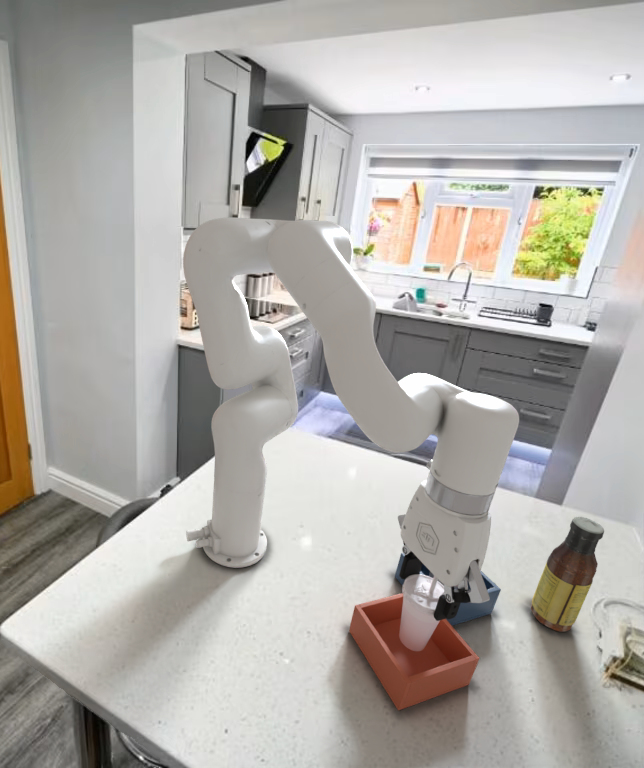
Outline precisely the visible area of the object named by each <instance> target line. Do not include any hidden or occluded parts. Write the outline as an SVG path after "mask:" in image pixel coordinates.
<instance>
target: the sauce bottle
mask: <svg viewBox="0 0 644 768" xmlns="http://www.w3.org/2000/svg"><path fill="white" fill-rule="evenodd" d="M569 527H570V529H569V530H568V533H567V535H566V537H565V539H564V541H562V542H561V543H560V544H559V545H558V546H557V547H555V548H554V549H553V550H552V551H551V553H550V554H549V556H548V558H547V560H546V562H545V564H544V568H543V571H542V573H541V575H540V578H539V580H538V583H537V586H536V588H535V591H534V594H533V596H532V599H531V605H530V610H531V613H532V615H533V616H534V617H535V619H536V620H537V621H538V622H539V623H540V624H541V625H542V626H543V625H544V626H545V627H547V628H549V629H550V630H553V631H555V632H561V633H562V632H568V631H570V630H571V629H572V627H573V625H574V624H575V623H576V621H577V619H578V616H579V614H580V612H581V609H582V607H583V605H584V602H585V600H586V598H587V595H588V594H589V592H590V589H591V587H592V584H593V582H594V577H595V575H596V574H597V573H596V572H597V569H598V565H599V564H598V561H597V557H596V548H597V546H598V543H599V541H600V540H602V539H603V537H604V534H605V529H604V527H603V526H602V525H601V524H600V523H598V522H597V521H595V520H593V519H591V518H588V517H585V516H574V517H573V518H572V520H571V522H570V525H569Z"/></svg>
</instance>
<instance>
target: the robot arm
mask: <svg viewBox="0 0 644 768" xmlns="http://www.w3.org/2000/svg"><path fill="white" fill-rule="evenodd" d="M353 254H354V247H353V242H352V239H351V237H350V235H349V233H348V232H347V231H346V230H345V229H344V228H343V227H342V226H341V225H340V224H337V223H336V222H333V221H329V220H315V219H298V220H286V219H270V218H250V217H249V218H247V217H234V216H233V217H231V216H230V217H218V218H214V219H210V220H207V221H205V222H203V223H201V224H200V225H198V226H197V227H196V228H195V229H194V230H193V231H192V233H190V236H189V237H188V239H187V241H186V244H185V247H184V251H183V257H182V267H183V275H184V279H185V283H186V286H187V289H188V291H189V294H190V297H191V300H192V303H193V306H194V309H195V312H196V316H197V322H198V328H199V331H200V336H201V341H202V346H203V352H204V355H205V359H206V364H207V370H208V372H209V376H210V378H211V380H212V382H213V383H214V385H216V387H218V388H219V389H222V390H228V391H230V390H236V389H240V388H243V387H246V386H249V385H251V388H252V389H250V390H247V391H244V392H242V393H240V394H237V395H235V396H233V397H231V398H229V399H227V400H225V401H224V402H223V403H221V404H220V405H219V406H218V407H217V409H216V410H215V411H214V413H213V415H212V417H211V422H210V423H211V424H210V426H211V434H212V440H213V449H214V472H213V492H212V509H211V519H207V520H206V525H204V526H202V527H201V528H198V529H190V530H186V533H185V535H186V541H187V542H194V541H195V547H196V549H200V548H203V551H204V553H205V555H206V556H208V558H209V559H210V560H211V561H213V562H214V563H216V564H218V565H221V566H222V567H228V568H235V569H237V568H246V567H249V566H252V565H254V564H256V563H259V561H260V560H262V558H263V557H264V556H265V554H266V552H267V546H268V539H267V536H266V534H265V532H264V531H263V530H262V521H263V511H264V504H265V494H266V484H267V474H268V465H267V461H266V458H265V456H264V453H263V449H264V446H265V445H266V443H268V442H270V441H271V440H273V439H274V438H276V437H277V436H278V435H280V434H283V433H284V432H285V431H287V430H288V429H289V428H291V427H292V426H293V425H294V423H295V422H296V420H297V418H298V414H299V401H298V395H297V389H296V384H295V383H296V382H295V378H294V371H293V366H292V361H291V356H290V351H289V348H288V346H287V342H286V341H285V339H284V338H283V336H282V335H281V333H279V331H277V330H276V329H274V328H273V327H271V326H268V325H253V326H252V321H251V319H250V313H249V307H248V302H247V301H246V298H245V296H244V294H243V293H242V291H241V289H240V288H239V287H238V285H237V284H236V283H235V281H234V278H235V277H236V276H242V275H253V274H262V273H263V274H264V273H274V275H276V277H277V278H278V280H279V281H280V282H281V284H282V286H283V287H284V288H285V289H286V291H287V292H288V293H289V296H291V298H292V299H293V300H294V302H295V303H296V304H297V306H298V307H299V308H300V310H301V311H302V313H303V314H304V315H305V317H306V318H307V319H308V321H309V322H310V324H311V326H312V327H313V328H314V329H315V331H316V333H317V334H318V335H319V337H320V339H321V341H322V347H323V356H324V360H325V361H324V362H325V365H326V368H327V372H328V377H329V379H330V382H331V386H332V388H333V390H334V392H335V394H336V396H337V398H338V399H339V401H340V402H341V404H342V406H343V407H344V409H345V410H346V411H347V413H348V414H349V415H350V417H351V418H352V420H353V421H354V423H355V424H356V425H357V426H358V428H359V429H360V430H361V431H362V433H363V434H364V435H365V436H366V437H367V438H368V439H369V440H370V442H372V443H373V444H375V445H376V446H378V447H379V448H380V449H382V450H385V451H387V452H390V453H397V454H402V453H408V452H411V451H413V450H416V449H418V448H419V447H420V446H422V445H423V444H424V442H426V441H427V440H428V438H430V437H431V435H433V436H435V437H436V438H437V441H436V446H435V448H434V449H435V450H434V453H433V457H432V459H431V460H429V461H428V462H427V463H426V468H427V470H429V472H428V474H427V478H426V479H424V480H423V481H421V483H420V484H419V485H418V487H417V489H416V490H415V492H414V494H413V496H412V498H411V500H410V501H409V504H408V507H407V510H406V512H405V514H400V515H399V514H398V516H397V520H398V524H399V528H400V537H401V540H402V543H403V546H402V547H401V550H402V553H404V554H405V556H404V560H403V563H402V567H401V570H400V574H399V576H400V577H401V579H406V578H407V577H408V576H410V575H414V574H420V571H421V567H422V564H424V565H425V566H426V567H427V568H428V569H429V570H430V571H431V573H432V574H433V575H434V576H435V577H436V578H437V579H438V580H439V581H440V582H442V583H443V584H444V594H443V595H441V596H440V597H439V600H438V603H437V606H436V609H435V612H434V618H435V619H436V620H437V621H440V620H443V619H446V618H447V619H452V618H454V617H455V616H456V615H457V612H458V609H459V606H460V604H461V603H483V602H486V601H489V600H490V597H489V594H488V591H487V589H486V586H485V583H484V580H483V578H482V575H481V572H480V571H482V568H483V565H484V561H485V558H486V554H487V550H488V545H489V540H490V535H491V527H492V514H491V513H490V512H489V511H490V508H491V505H492V503H493V500H494V497H495V494H496V490H497V489H498V486H499V482H500V479H501V476H502V473H503V471H504V468H505V465H506V462H507V460H508V457H509V454H510V451H511V448H512V445H513V442H514V440H515V436H516V434H517V432H518V428H519V424H520V415H519V412H518V410H517V409H516V408H515V407H514V406H513V404H511V403H509V402H508V401H506V400H504V399H501V398H499V397H497V396H493V395H489V394H485V393H480V392H471V391H469V390H466V389H464V388H461V387H459V386H457V385H455V384H452V383H451V382H448V381H446V380H444V379H442V378H439V377H437V376H435V375H432V374H428V373H421V372H417V373H411V374H408V375H406V376H404V377H403V378H401V379H400V380H397V379H396V378H395V376H394V375H393V374H392V372H391V371H390V370H389V368H388V367H387V365H386V363H385V362H384V360H383V358H382V357H381V354H380V352H379V350H378V346H377V343H376V340H375V336H374V334H375V333H374V325H375V324H374V323H375V318H376V312H377V311H376V310H377V301H376V299H375V297H374V296H373V294H372V293H371V292H370V290H369V289H368V288H367V286H366V285H365V284H364V283H363V281H362V280H361V279H360V278H359V277H358V275H357V274H356V273H355V272H354V270H353V269H352V267H351V266H350V265H351V262H352V259H353ZM467 579H468V582H469V585H470V588H471V590H468V582H467ZM457 585H458V589H455V590H454V586H457Z"/></svg>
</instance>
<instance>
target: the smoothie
mask: <svg viewBox="0 0 644 768" xmlns="http://www.w3.org/2000/svg"><path fill="white" fill-rule="evenodd" d="M437 580H438V579H437V578H436V577H435V576H434V577H433V578H431V577H429V576H426V575H420V574H414V575H410V576H408V577H407V578H406V579H405V581H404V584H403V586H402V585H401V586H402V587H401V591H402V593H403V595H404V596H403V606H402V615H401V624H400V632H399V638H400V640H401V642H402V643H403V645H404V646H406V647H407V648H408V649H410V650H413V651H421V650H423V649H424V648H425V646H426V644H427V642H428V641H429V639H430V637H431V635H432V634H433V632H434V630H435V628H436V627H437V625H438V623H439V621H437V620H436V619H435V618H434V612H435V609H436V606H437V603H438V600H439V597H440V596H441V595H443V594H444V586H443V585H442V584H441V583H440V582H438V581H437Z"/></svg>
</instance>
